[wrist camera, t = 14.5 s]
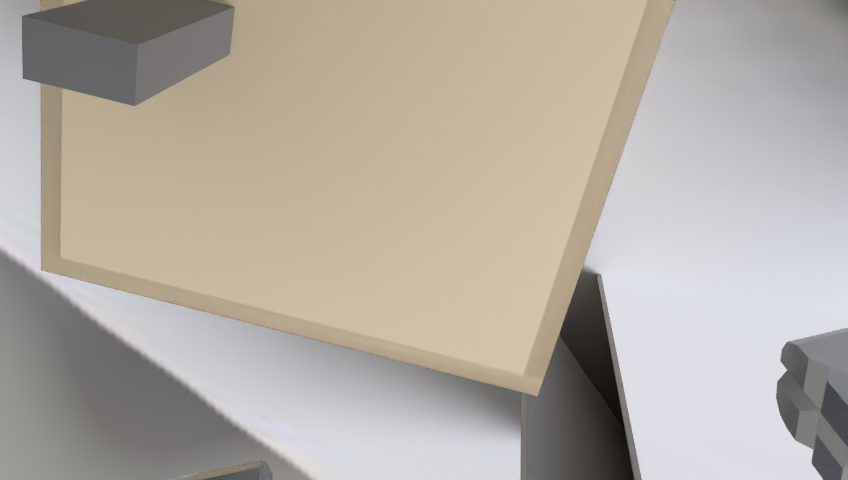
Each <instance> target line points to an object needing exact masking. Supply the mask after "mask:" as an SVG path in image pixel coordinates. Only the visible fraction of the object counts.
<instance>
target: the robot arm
mask: <svg viewBox="0 0 848 480" xmlns="http://www.w3.org/2000/svg"><path fill="white" fill-rule="evenodd" d="M780 361H781V362H782V364H783V365H784V366H785V367H786V369H787V371H786V372H785V374H784V375H783V376H782V377H781V378H780V379H779V380H778V382H777V393H776V399H777V403H778V407H779V412H780V415H781V417H782V419H783V421H784V423H785V425H786V427H787V429H788V430H789V432H790V433H791V435H792V436H793V438H794V439H795V440H796V441H798V442H800V443H802V444H804V445H806V446H808V447H810V448H812V449H813V455H812V464H813V466H814V467H815V469H816V470H817V471H818V473H819V474H820V476H821V477H822V478H823V480H848V328H844V329H840V330H836V331H832V332H827V333H823V334H819V335H815V336H810V337H806V338H802V339H798V340H793V341H789V342H787V343H786V344H785V346H784V347H783V348H782V354H781V360H780ZM168 480H272V472H271V470H270V468H269V466H268V464H267V462H266V461H263V460H261V461H256V462H251V463H247V464H241V465H236V466H231V467H226V468H220V469H216V470H210V471H205V472H200V473H197V474H192V475H188V476H182V477H178V478H173V479H168Z"/></svg>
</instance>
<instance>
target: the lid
mask: <svg viewBox="0 0 848 480" xmlns="http://www.w3.org/2000/svg"><path fill="white" fill-rule="evenodd" d="M674 2H675V0H41V12H37V13H33V14H29V15H25V16H22V52H23V79H27V80H31V81H35V82H39V83H41V270H42V271H46V272H50V273H54V274H58V275H62V276H66V277H70V278H74V279H78V280H81V281H85V282H89V283H93V284H97V285H101V286H105V287H109V288H113V289H117V290H121V291H125V292H129V293H133V294H137V295H140V296H144V297H148V298H152V299H156V300H160V301H164V302H168V303H172V304H176V305H180V306H184V307H188V308H192V309H196V310H200V311H203V312H207V313H211V314H215V315H219V316H223V317H227V318H231V319H235V320H239V321H243V322H247V323H251V324H255V325H259V326H263V327H266V328H270V329H274V330H278V331H282V332H286V333H290V334H294V335H298V336H302V337H306V338H310V339H314V340H318V341H322V342H326V343H329V344H333V345H337V346H341V347H345V348H349V349H353V350H357V351H361V352H365V353H369V354H373V355H377V356H381V357H385V358H388V359H392V360H396V361H400V362H404V363H408V364H412V365H416V366H420V367H424V368H428V369H432V370H436V371H440V372H444V373H448V374H451V375H455V376H459V377H463V378H467V379H471V380H475V381H479V382H483V383H487V384H491V385H495V386H499V387H503V388H507V389H511V390H514V391H518V392H522V393H526V394H530V395H534V396H538V393H539V390H540V388H541V385H542V382H543V379H544V376H545V373H546V370H547V368H548V365H549V362H550V359H551V356H552V353H553V350H554V347H555V345H556V342H557V339H558V336H559V333H560V330H561V327H562V324H563V322H564V319H565V316H566V313H567V310H568V307H569V304H570V301H571V299H572V296H573V293H574V290H575V287H576V284H577V281H578V278H579V276H580V273H581V270H582V267H583V264H584V261H585V258H586V255H587V253H588V250H589V247H590V244H591V241H592V238H593V235H594V232H595V230H596V227H597V224H598V221H599V218H600V215H601V212H602V209H603V207H604V204H605V201H606V198H607V195H608V192H609V189H610V186H611V184H612V181H613V178H614V175H615V172H616V169H617V166H618V163H619V161H620V158H621V155H622V152H623V149H624V146H625V143H626V140H627V138H628V135H629V132H630V129H631V126H632V123H633V120H634V117H635V115H636V112H637V109H638V106H639V103H640V100H641V97H642V94H643V92H644V89H645V86H646V83H647V80H648V77H649V74H650V71H651V69H652V66H653V63H654V60H655V57H656V54H657V51H658V48H659V46H660V43H661V40H662V37H663V34H664V31H665V28H666V25H667V23H668V20H669V17H670V14H671V11H672V8H673V5H674Z"/></svg>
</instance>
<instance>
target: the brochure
mask: <svg viewBox="0 0 848 480" xmlns="http://www.w3.org/2000/svg"><path fill="white" fill-rule="evenodd" d="M597 279H598V285H599V290H600V296H601V301H602V307H603V312H604V318H605V323H606V329H607V335H608V340H609V346H610V351H611V357H612V362H613V368H614V373H615V379H616V384H617V390H618V396H619V401H620V407H621V412H622V418H623V423H624V428H623V427H622V426H621V424H620V423H619V421H618V420H617V418H616V417H615V415H614V414H613V412H612V411H611V409H610V408H609V407H608V405H607V404H606V402H605V401H604V399H603V398H602V396H601V395H600V393H599V392H598V390H597V389H596V388H595V386H594V385H593V383H592V382H591V380H590V379H589V377H588V376H587V374H586V373H585V371H584V370H583V369H582V367H581V366H580V364H579V363H578V361H577V360H576V358H575V357H574V355H573V354H572V352H571V351H570V350H569V348H568V347H567V345H566V344H565V342H564V341H563V339H562V338H561V336H560V335H559V336H558V339H557V342H556V345H555V347H554V350H553V353H552V356H551V359H550V362H549V365H548V368H547V370H546V373H545V376H544V379H543V382H542V385H541V388H540V390H539V393H538V396H534V395H530V394H526V393H522V392H521V480H642V479H641V474H640V469H639V464H638V459H637V454H636V449H635V444H634V439H633V434H632V429H631V424H630V419H629V414H628V409H627V404H626V399H625V393H624V388H623V383H622V378H621V373H620V368H619V363H618V358H617V353H616V348H615V343H614V338H613V333H612V328H611V323H610V318H609V313H608V308H607V302H606V297H605V292H604V287H603V282H602V277H601V275H597ZM624 429H625V430H624Z"/></svg>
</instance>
